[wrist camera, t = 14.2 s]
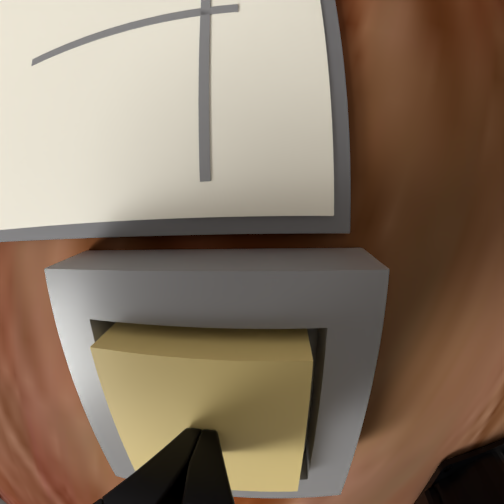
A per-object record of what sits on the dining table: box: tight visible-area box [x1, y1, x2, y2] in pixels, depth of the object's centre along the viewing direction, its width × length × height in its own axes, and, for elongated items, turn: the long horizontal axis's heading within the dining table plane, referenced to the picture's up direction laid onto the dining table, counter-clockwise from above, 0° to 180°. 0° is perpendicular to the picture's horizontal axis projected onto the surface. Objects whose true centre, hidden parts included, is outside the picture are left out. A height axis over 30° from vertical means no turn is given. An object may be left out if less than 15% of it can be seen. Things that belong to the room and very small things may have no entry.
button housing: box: [44, 248, 390, 498], centre depth 9 cm, size 9×9×2 cm
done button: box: [90, 322, 313, 492], centre depth 8 cm, size 5×5×2 cm
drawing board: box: [0, 0, 351, 242], centre depth 7 cm, size 18×18×1 cm
